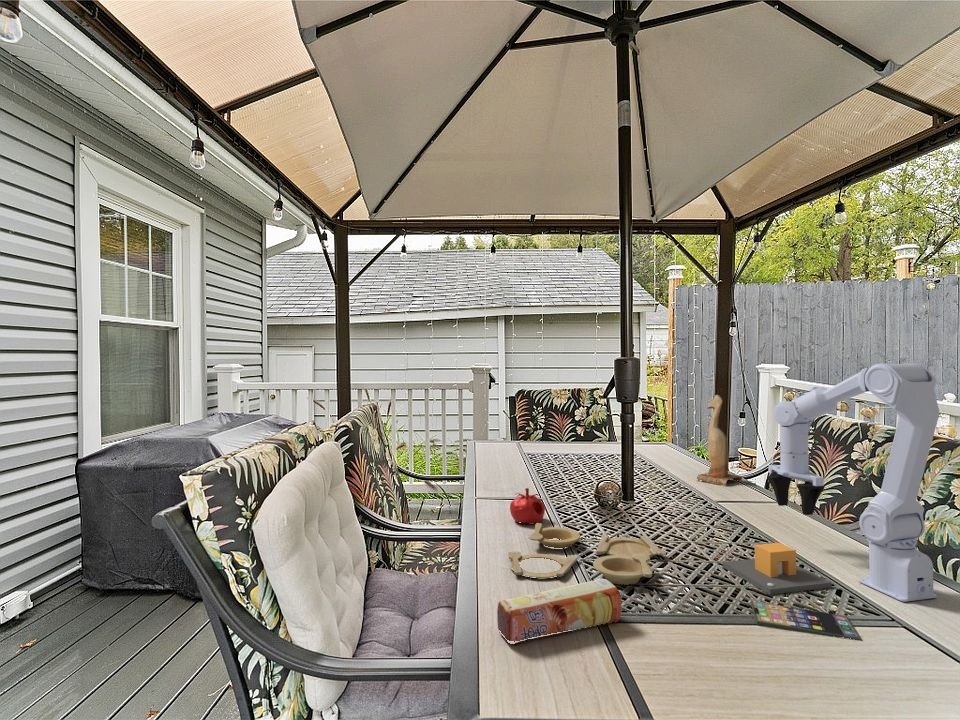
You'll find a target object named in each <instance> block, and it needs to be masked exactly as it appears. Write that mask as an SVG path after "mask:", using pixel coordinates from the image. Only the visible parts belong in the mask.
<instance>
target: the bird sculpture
mask: <svg viewBox="0 0 960 720" xmlns="http://www.w3.org/2000/svg"><path fill="white" fill-rule="evenodd" d="M723 402H724V401H723V398H722V397H721V395H719V394H715V395H714V397H713V399H711V400H710V401H708V402H707V405H706V408H707V409H713V412H712V414H711V416H710V417H711V418H710V421H709V423H708V431H707V455H708V456H707V457H708V460H709V463H711V464H710V465H709V469H708V472H705V473H701V474H698V475H697V476H696V480H697V479H698V480H702V481H706V482H710V483H709V484H712V483H713V485H716V484H717V485H718V486H721V485H724V486H723V487H726V486H727V482H728V480H729V481H730V479H731V480H733V481H734V480H735V481H738V482H741V481H742V480H743V477H742V476H741V475H734V474H729V442H728V438H727V435H726V434H725V432H724V431H723V430H722V429H721V428H720V427H719V420H720V413H721V410H722V407H723V404H724V403H723ZM702 481H701V482H702ZM706 482H705V483H706Z"/></svg>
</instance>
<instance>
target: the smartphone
mask: <svg viewBox="0 0 960 720" xmlns="http://www.w3.org/2000/svg"><path fill="white" fill-rule="evenodd" d="M750 605H751V609H752V613H753V616H754V619H755V622H756V623H757V624H756V625H757V626H759V625H760V626H761V627H765V626H766V628H772V627H773V628H772V629H779V630H786V631H787V630H788V631H792V630H793V632H800V633H807V634H813V635H820V636H826V635H827V637H833V636H835V637H834V638H839V637H844V638H843V639H846V638H849V639H848V640H853V639H855V640H854V641H859V640H860V642H861V641H863V640H862V637H861V636H860V635H859V632H857V629H856V628H855V627H854V625H853V623H852V622H851V620H850V619H849V617H848V616H847V615H841V614H834V613H828V612H822V611H816V610H811V609H803V608H798V607H790V606H785V605H779V604H772V603H766V602H761V601H753V600H751V601H750ZM850 638H851V639H850Z"/></svg>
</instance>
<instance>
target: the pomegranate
mask: <svg viewBox="0 0 960 720" xmlns="http://www.w3.org/2000/svg"><path fill="white" fill-rule="evenodd" d="M524 490H525V495H524V494H522V493H519V492H517V493H516V497H515V498H514V499H513V500H511V502H510V505H509V512H510V515H511V517H512V519H513V520H514V521H515V522H516V521H517V522H516V523H518V522H521V523H538V522H539V523H541V521H542V520H543V519H544V515H545V511H546V506H545V504H544V502H542V499H540V498H538V497H537V496H539V497H541V495H540V494H537V493H536V494H530V488H529V487H525V489H524Z"/></svg>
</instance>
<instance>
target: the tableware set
mask: <svg viewBox="0 0 960 720" xmlns="http://www.w3.org/2000/svg"><path fill="white" fill-rule="evenodd" d="M534 525H535V526H534V532H533V533H530V534H529V535H528V539H529V540H531V541H537V542H539V543H541V545H542V544H543V545H545V546H548V547H554V548H565V547H569V546H570V547H571V546H572V545H573V544H575V543H577V542H578V541H580V539H581V534H580V533H579V531H576V530H575V529H571V528H566V527H560V526H551V527H550V526H549V527H543V524H542V523H541V522H539V523H536V524H534ZM639 537H640V538H634V537H625V536H623V537H619V536H618V537H611V538H609V535H608V534H607V535H606V534H603V535H601V538H600V541H599V543H598V546H597V549H596V550H595V553H596V554H597V555H604V554H605V556H600V557H598V558H596V559H595V560H594V561H593V563H592V565H593V566H592V567H593V568H594V570H595V571H596V572H599V573H600V574H602V575H603V577H604V579H607V580H608V581H609V582H611V583H612V584H615V585H620V584H621V585H622V586H625V585H627V586H629V584H631V585H634V584H637V583H638V582H639V580H640V579H641V578H642V577H645V578H652V577H653V572H652V570H651V565H650V564H649V562H650V560H651V558H653V557H654V556H657V555H658V556H661V555H662V556H666V555H667V552H666V551H664V550H663V549H662V548H660V547H657V546H656V545H655V544H654V543H653V542H652V541H651V539H650V538H649V537H648V536H646V535H641V536H639ZM553 538H557V539H561V540H549V539H553ZM543 545H542V546H543ZM570 547H569V548H570ZM507 555H508V559H509V560H511V561H512V562H511V561H510V563H511V568H513V570H514V572H513V575H516V576H520V575H525V576H529V577H536V578H550V577H554V576H558V577H557V578H560V577H561V578H562V577H564V576H565V575H566V574H568V573H569V572H570V570H571V567H572V566H573V565H574V564H575V563H576V562H577V561H578V560H579V556H578V555H575V554H571V555H568V556H566V557H565V558H562V557H560V556H557V555H553V554H545V553H531V554H530V553H528V554H524V555H522V553H521V552H520V551H508V552H507ZM529 558H544V559H545V558H546V559H550V560H554V561H556V562H558V563H559V564H560V565H561V568H560V569H559V570H557V571H554V572H550V573H533V572H528V571H525V570H523V569H522V568H521V567H520V564H519V562H521V561H522V560H525V559H529ZM511 568H510V569H511ZM568 571H569V572H568ZM567 572H568V573H567ZM565 573H566V574H565ZM564 574H565V575H564ZM623 584H624V585H623Z"/></svg>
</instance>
